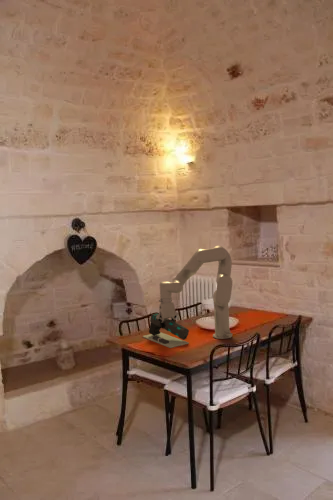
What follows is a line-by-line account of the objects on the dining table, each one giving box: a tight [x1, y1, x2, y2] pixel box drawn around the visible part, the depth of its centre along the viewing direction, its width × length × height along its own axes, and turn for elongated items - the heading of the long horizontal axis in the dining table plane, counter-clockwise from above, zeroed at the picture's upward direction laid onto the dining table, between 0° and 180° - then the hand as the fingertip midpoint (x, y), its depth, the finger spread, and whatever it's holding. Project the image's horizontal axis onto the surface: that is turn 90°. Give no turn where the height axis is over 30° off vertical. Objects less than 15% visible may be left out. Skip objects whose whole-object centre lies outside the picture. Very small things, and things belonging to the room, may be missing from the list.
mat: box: [142, 331, 190, 349], centre depth 315 cm, size 34×14×1 cm, turn 33°
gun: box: [148, 312, 190, 341], centre depth 316 cm, size 7×29×15 cm, turn 48°
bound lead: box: [153, 336, 169, 344], centre depth 311 cm, size 15×4×2 cm, turn 33°
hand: (167, 326), depth 316 cm, fingers closed on gun, 7 cm apart
